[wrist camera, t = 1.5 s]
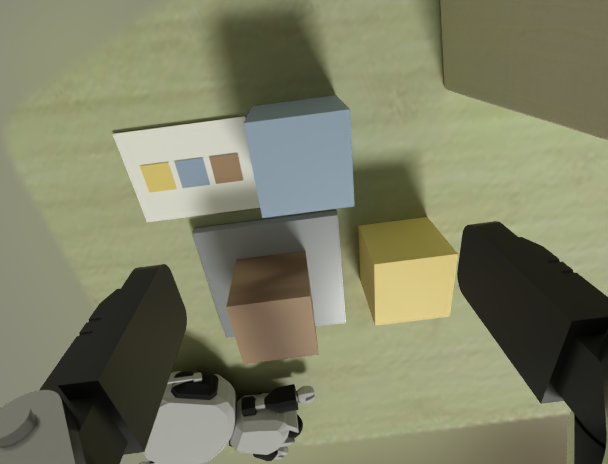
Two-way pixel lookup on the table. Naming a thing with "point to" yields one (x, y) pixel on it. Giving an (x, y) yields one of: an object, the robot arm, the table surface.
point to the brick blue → (301, 155)
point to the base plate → (269, 241)
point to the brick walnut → (272, 307)
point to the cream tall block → (531, 58)
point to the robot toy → (222, 420)
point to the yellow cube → (406, 270)
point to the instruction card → (190, 168)
